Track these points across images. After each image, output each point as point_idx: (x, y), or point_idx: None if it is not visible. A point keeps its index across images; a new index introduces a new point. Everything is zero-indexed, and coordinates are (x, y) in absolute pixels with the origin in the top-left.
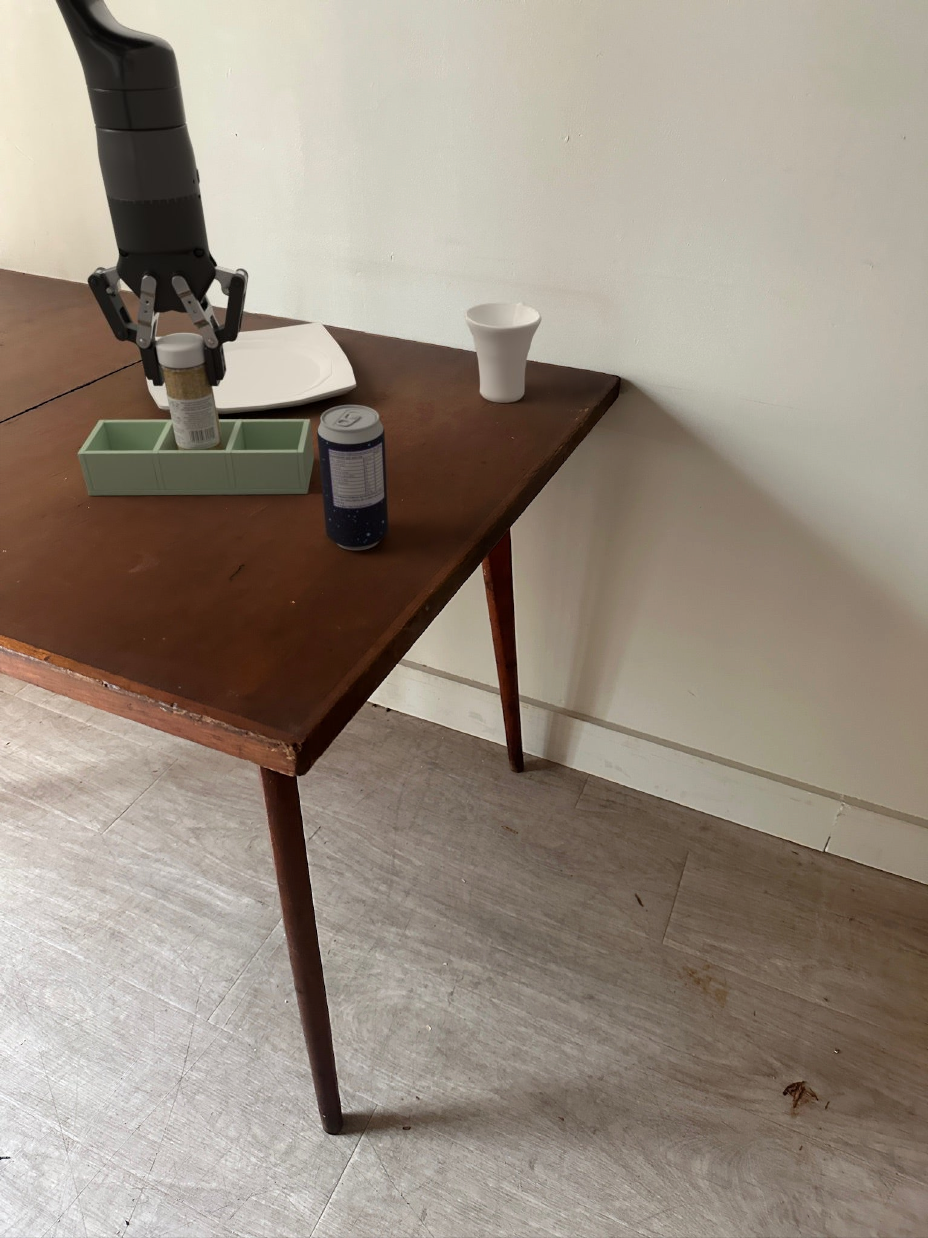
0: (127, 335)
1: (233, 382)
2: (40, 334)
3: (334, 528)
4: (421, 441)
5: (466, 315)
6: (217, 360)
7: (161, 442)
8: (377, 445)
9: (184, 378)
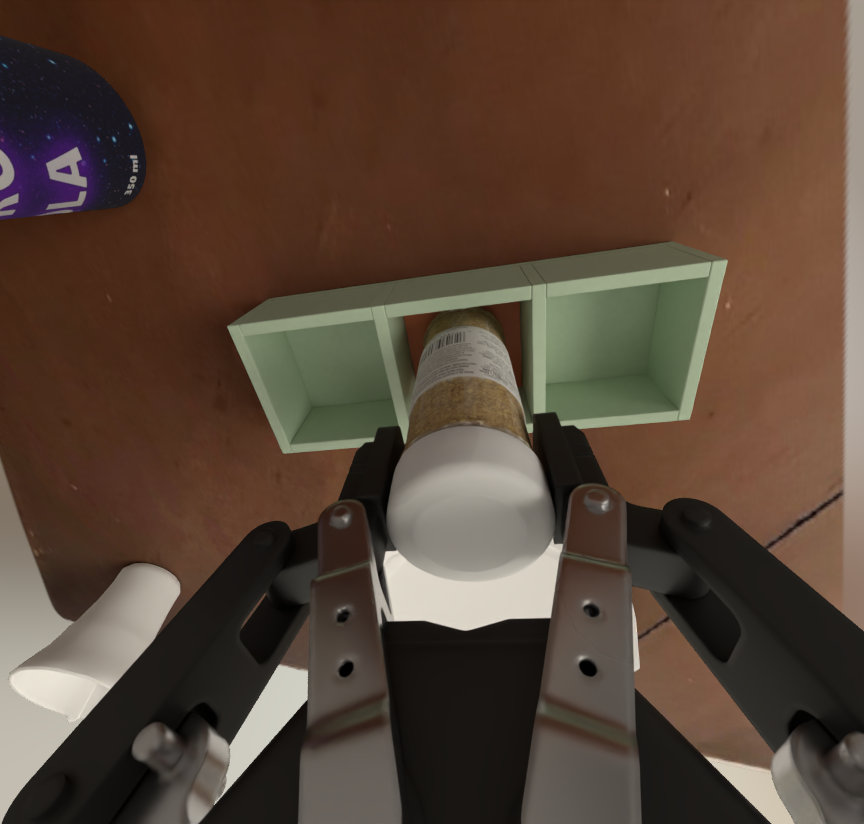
0: (666, 516)
1: (499, 588)
2: None
3: (54, 56)
4: (184, 470)
5: None
6: (358, 479)
7: (534, 335)
8: None
9: (451, 412)
